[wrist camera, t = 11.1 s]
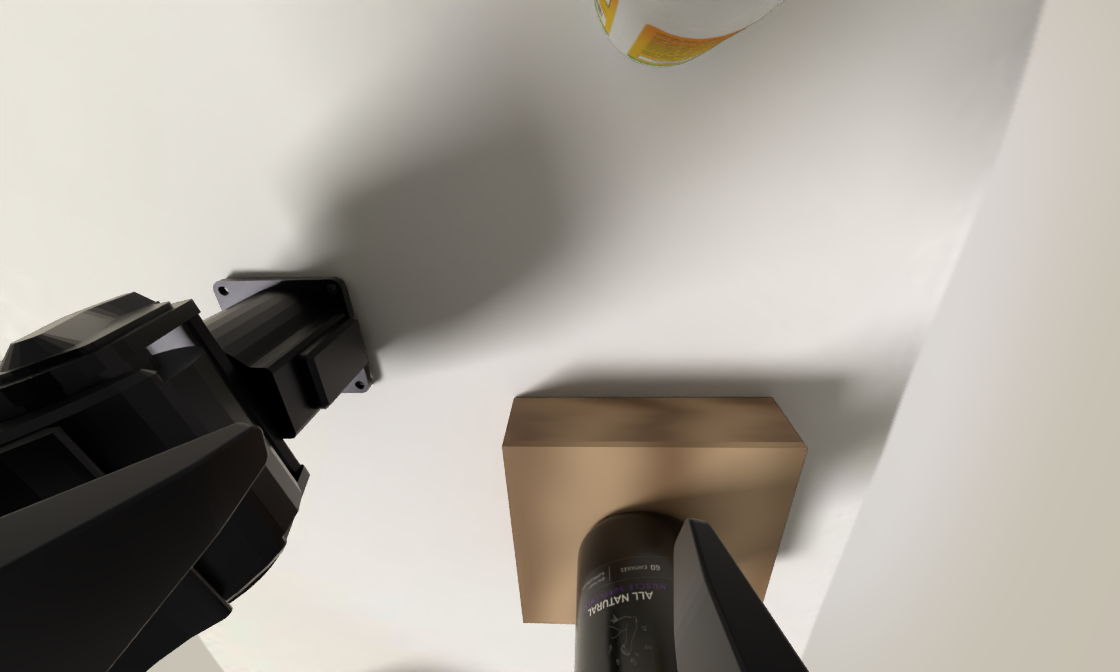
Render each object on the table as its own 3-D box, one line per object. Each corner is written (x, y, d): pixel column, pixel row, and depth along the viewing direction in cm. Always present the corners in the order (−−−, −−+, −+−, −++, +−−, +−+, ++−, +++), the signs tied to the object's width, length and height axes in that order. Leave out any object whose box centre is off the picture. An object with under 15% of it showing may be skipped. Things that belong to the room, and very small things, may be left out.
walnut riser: (530, 562, 30) (523, 622, 26) (514, 397, 24) (501, 446, 20) (733, 567, 29) (755, 629, 25) (772, 397, 23) (807, 448, 19)
